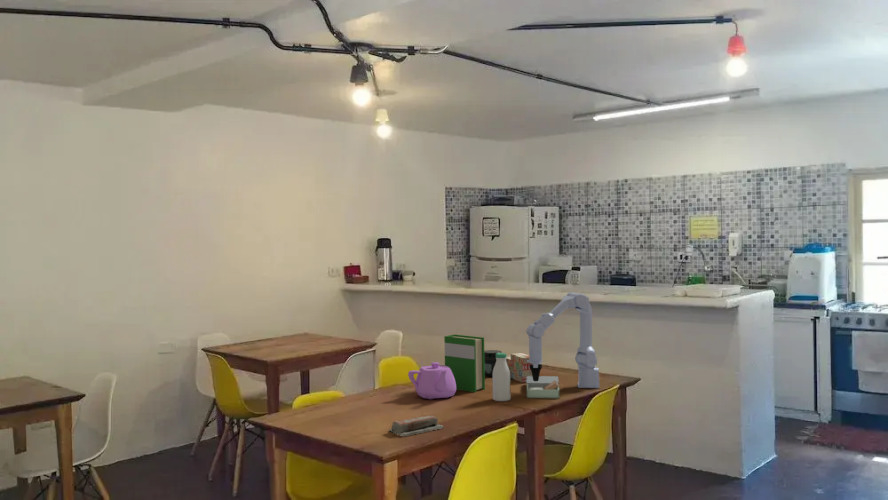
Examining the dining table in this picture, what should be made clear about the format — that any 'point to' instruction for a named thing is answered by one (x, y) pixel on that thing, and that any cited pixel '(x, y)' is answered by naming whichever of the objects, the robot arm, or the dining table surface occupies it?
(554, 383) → the terracotta tile
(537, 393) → the tray
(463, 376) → the hardback book
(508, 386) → the milk bottle
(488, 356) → the supplement container
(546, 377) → the board
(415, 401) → the dining table surface
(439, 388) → the teapot
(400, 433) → the packaged product
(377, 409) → the dining table surface
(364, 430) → the dining table surface
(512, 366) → the printed cardboard box
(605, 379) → the dining table surface
